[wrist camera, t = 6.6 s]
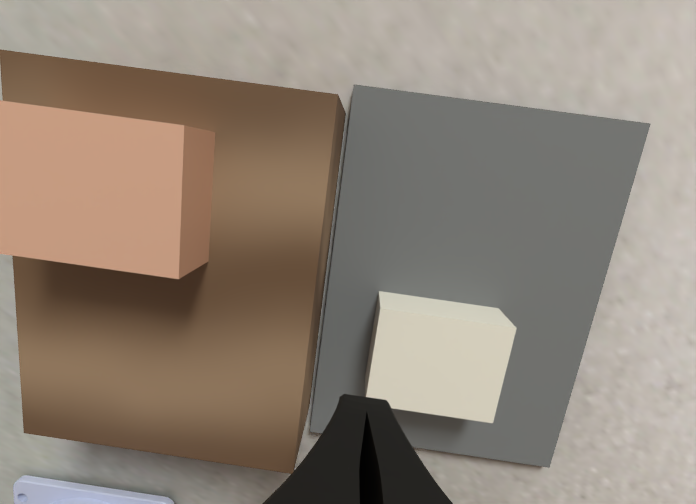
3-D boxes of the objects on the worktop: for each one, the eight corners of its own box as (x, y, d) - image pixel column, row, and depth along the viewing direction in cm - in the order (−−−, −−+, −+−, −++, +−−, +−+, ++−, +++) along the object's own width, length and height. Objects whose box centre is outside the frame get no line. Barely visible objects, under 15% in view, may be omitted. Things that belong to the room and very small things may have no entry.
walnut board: (309, 406, 18) (292, 473, 14) (98, 375, 18) (23, 433, 14) (345, 113, 15) (337, 94, 11) (94, 79, 15) (-1, 49, 11)
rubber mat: (545, 460, 18) (549, 467, 17) (311, 425, 18) (309, 431, 18) (642, 124, 15) (650, 123, 14) (354, 86, 15) (353, 84, 14)
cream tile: (364, 404, 15) (365, 376, 17) (492, 423, 15) (478, 393, 17) (380, 308, 14) (378, 290, 16) (516, 328, 14) (498, 308, 16)
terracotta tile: (208, 261, 12) (178, 279, 10) (56, 239, 12) (-2, 253, 10) (215, 132, 11) (184, 125, 10) (51, 110, 12) (-13, 98, 10)
